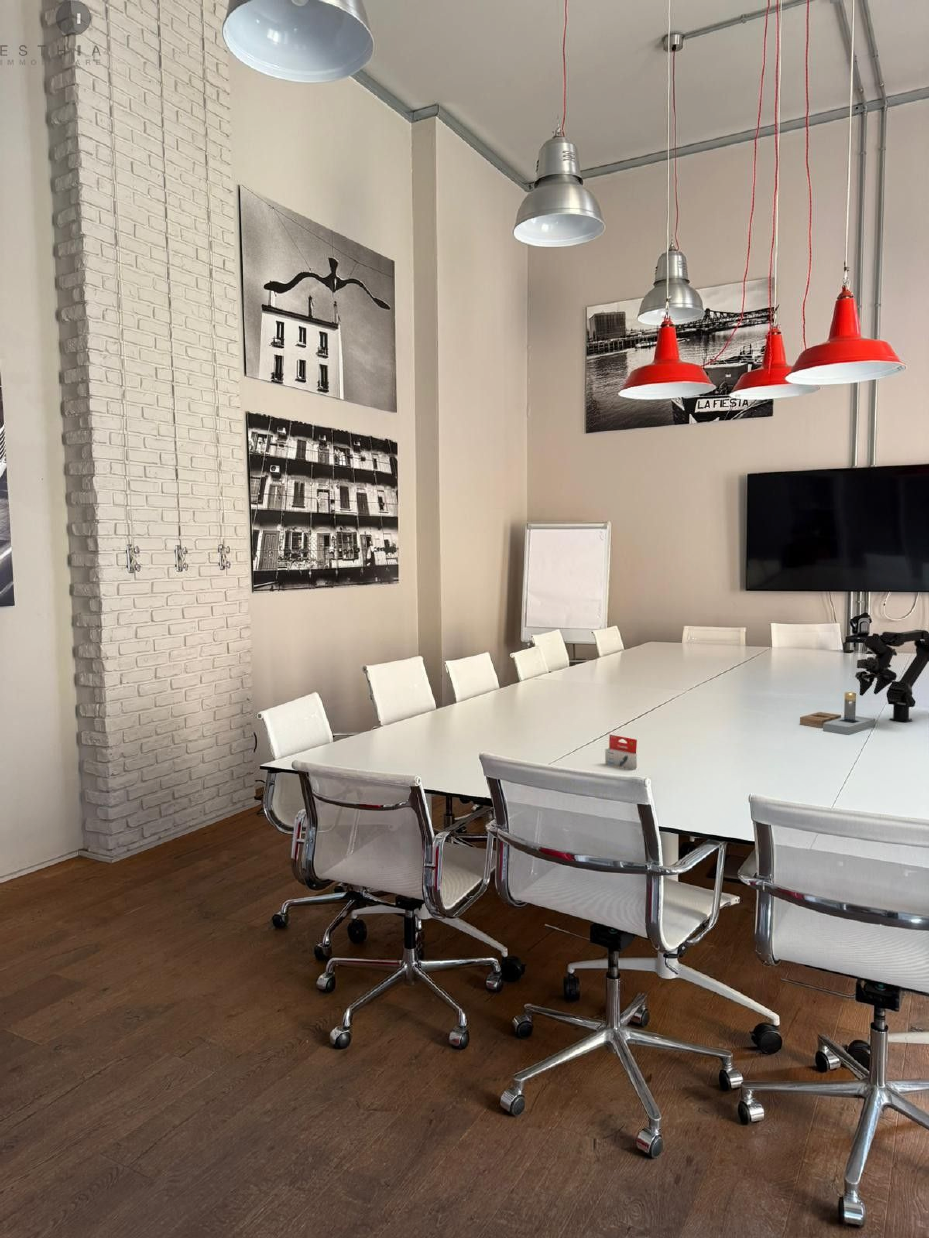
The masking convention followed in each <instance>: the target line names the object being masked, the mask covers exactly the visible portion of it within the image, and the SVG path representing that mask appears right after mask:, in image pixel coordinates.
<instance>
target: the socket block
mask: <svg viewBox="0 0 929 1238" xmlns="http://www.w3.org/2000/svg"><path fill="white" fill-rule="evenodd" d="M839 718H842V714H836V713H830V712H829V713H828V712H825V711H824V712H823V711H818V712H813V713H812V714H811V713H810V714H807V715H803V716H799V725H801V726H806V727H812V728H818V729H823V723H825V722H828V721H832V720H835V719H839Z"/></svg>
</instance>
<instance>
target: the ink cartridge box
mask: <svg viewBox="0 0 929 1238" xmlns="http://www.w3.org/2000/svg"><path fill="white" fill-rule="evenodd" d="M608 736H609V738H608V739H609V740H608V741H609V742H608V748H605V750H604V752H605V753H604V756H605V758H604V759H605V761H604V762H605V763H606V764H605V765H608V764H609V765H608V766H612V765H614V766H613V767H616V768H617V767H618V768H621V767H625V768H624V769H626V768H628V769H627V770H630V769H631V771H634V770H637V769H636V768H637V767H638V763H637V761H638V760H637V758H638V757H637V755H638V754H637V749H638V748H637V747H638V746H637V745H638V739H636V738H629V737H625V736H619V735H615V734H609V735H608ZM620 740H624V741H625V742H621V741H620Z"/></svg>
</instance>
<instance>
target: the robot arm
mask: <svg viewBox="0 0 929 1238" xmlns="http://www.w3.org/2000/svg"><path fill="white" fill-rule="evenodd" d="M909 642H913V644H914V646H915V654H916V655H915V657H914V658H913V660H912V661H911V663H910V665H909V666H908V668H907V669H906V671H905V672H904V673H903V675H902V677H901V678H900V680H899V681H897V678H898V674H897V673H896V672H895V671H893V670H891V669H890V668H891V667H892V665H891V662H892V658H893V656H895V657H896V656H898V653H897V651H896V649H895V648H892V647H896V648H899V647H901V646H904V644H905V643H909ZM863 645H864V646H865V648H867V649H868V651H870V652H871V653H872V654H874V655H875V656H868V657H867V658H865V659H862V658H861V659H856V660H857V661H856V669H864V670H862V671H860V670H859V671H858V672H857V671H856V673H855V675H854V677H855V678H856V680H858V683H859V696H861V697H862V696H864V695H865V694H866V692H867V691H868V690H869V689H870V687H872V685H873V684H874V681H875V679H876V683H875V685H874V690H873V694H874V695H877V694H879V693H880V692H881V691H883V689H885V688H886V687H887V686H888V687H887V691H886V694H885V695H886V698H887V699H886V700H887V704H888V705H891V706H893V707H892V708H893V709H892V713H893V714H892V717H890V718H889V720H890V721H896V722H902V723H907V722H910V721H913V718H910V708H914V707H915V706H916V700H915V698H914V696H912V695H913V686H914V685H915V683H916V681H917V680H918V678H919V677H920V675H921V674H922V673H923V671H924V669H925V668H926V666H927V665H928V663H929V631H928V630H926V629H914V630H909V631H903V632H902V631H901V632H895V631H894V632H893V631H883V632H882V633H881V634H879V633H872V635H870V636H868V637H867V638H866V639H865V640H864V644H863ZM889 685H890V686H889Z"/></svg>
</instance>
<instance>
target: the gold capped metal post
mask: <svg viewBox="0 0 929 1238" xmlns="http://www.w3.org/2000/svg"><path fill="white" fill-rule="evenodd" d="M843 702H844V708H843V709H844V710H843V713H844V714H843V717H844V722H849V723H855V716H856V712H857V711H856V709H857V706H856V704H857V693H856V692H852V691H851V692H848V691H847V692H844V701H843Z"/></svg>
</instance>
